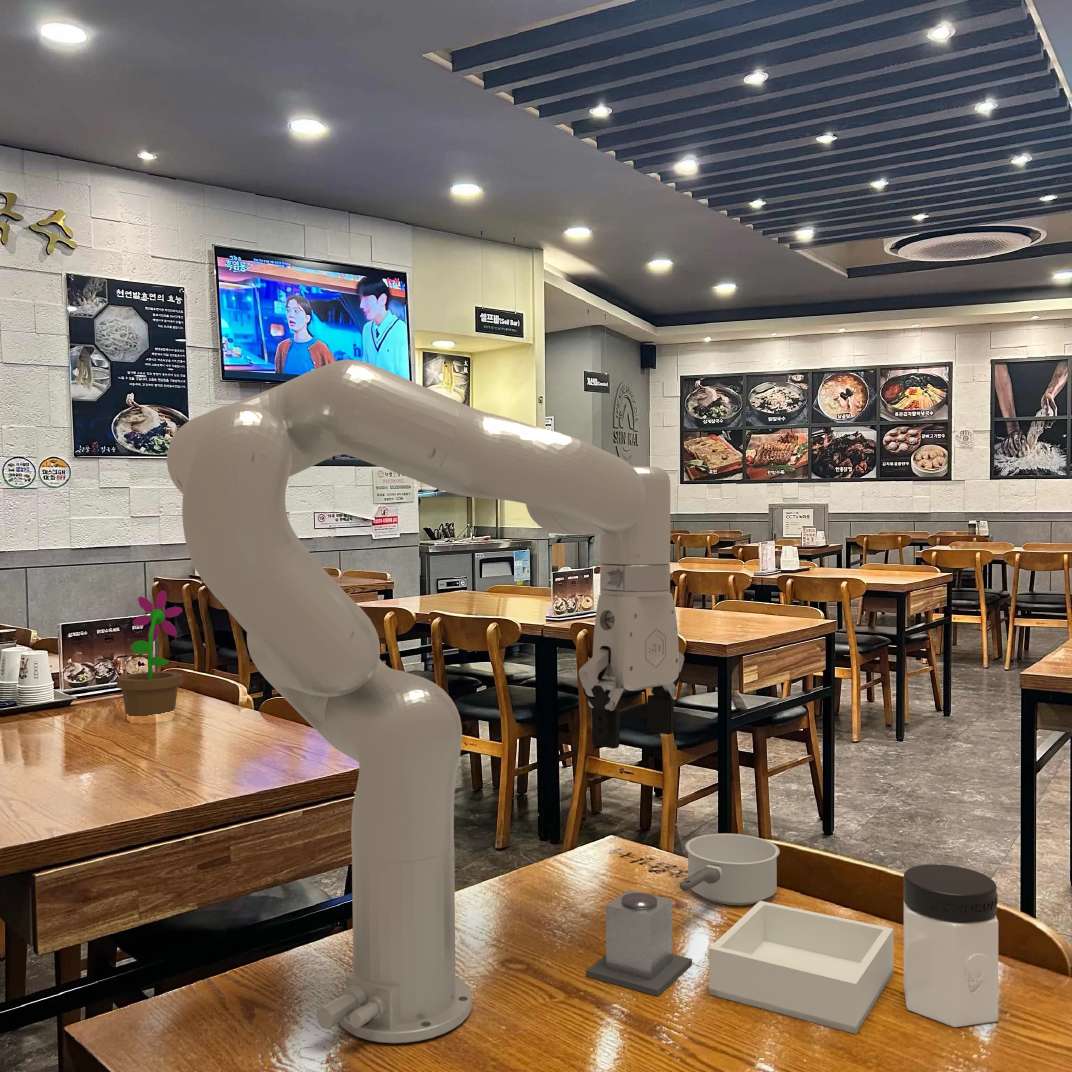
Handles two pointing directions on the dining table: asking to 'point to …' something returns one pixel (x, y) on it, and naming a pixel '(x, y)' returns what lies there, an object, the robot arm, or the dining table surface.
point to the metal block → (639, 934)
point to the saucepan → (731, 868)
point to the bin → (803, 965)
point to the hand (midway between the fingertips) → (633, 739)
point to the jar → (951, 944)
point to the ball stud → (641, 984)
